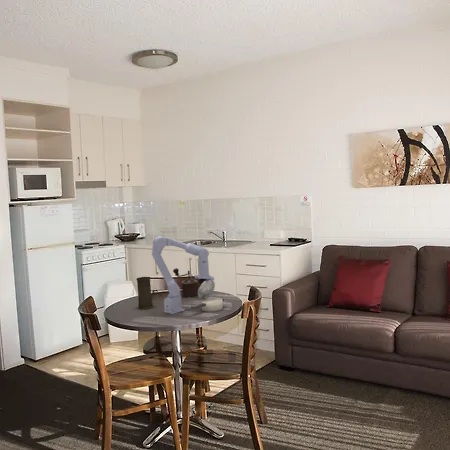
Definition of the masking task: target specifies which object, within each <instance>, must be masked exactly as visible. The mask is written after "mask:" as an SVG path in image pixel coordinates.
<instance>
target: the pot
mask: <svg viewBox="0 0 450 450" xmlns="http://www.w3.org/2000/svg"><path fill="white" fill-rule="evenodd" d="M224 301H225V298H222V297H221V298H220V297H208V298H206V299H201V303H199V304H195V305H191V307H190V309H191V310H196V309H197V310H198V309H200V308H201V310H202V311H203V312H209V313H210V312H219V311H221V310H223V309H224V304H223V303H224Z"/></svg>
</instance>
